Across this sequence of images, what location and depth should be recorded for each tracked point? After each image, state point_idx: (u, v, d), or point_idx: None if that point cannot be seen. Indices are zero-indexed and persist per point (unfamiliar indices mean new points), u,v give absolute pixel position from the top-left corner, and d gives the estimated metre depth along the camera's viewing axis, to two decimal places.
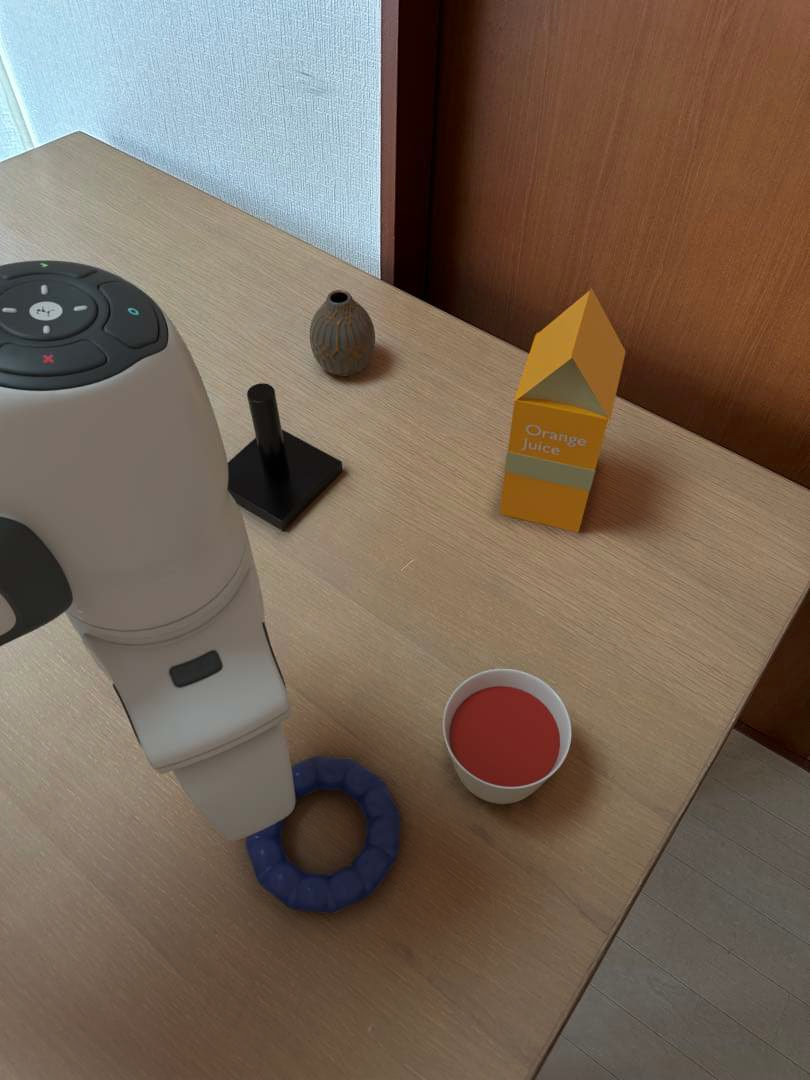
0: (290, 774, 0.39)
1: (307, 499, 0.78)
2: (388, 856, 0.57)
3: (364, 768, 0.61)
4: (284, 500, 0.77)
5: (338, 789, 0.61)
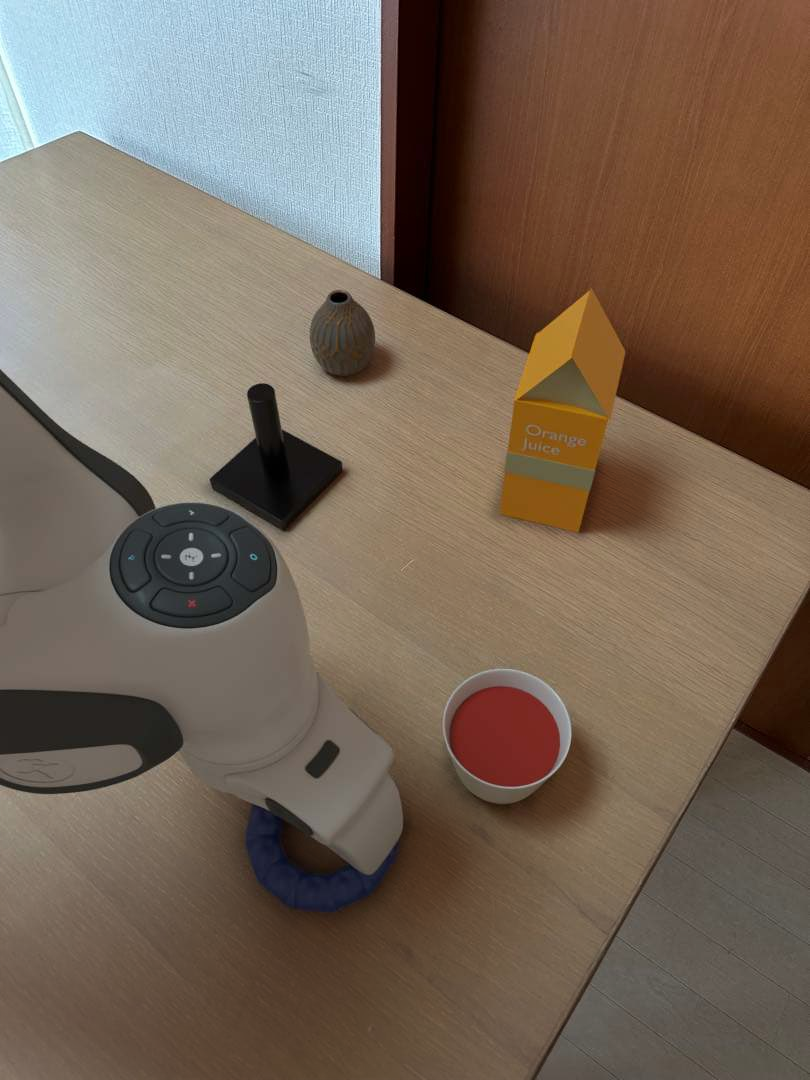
0: None
1: (307, 499, 0.78)
2: (387, 856, 0.57)
3: None
4: (284, 500, 0.77)
5: None
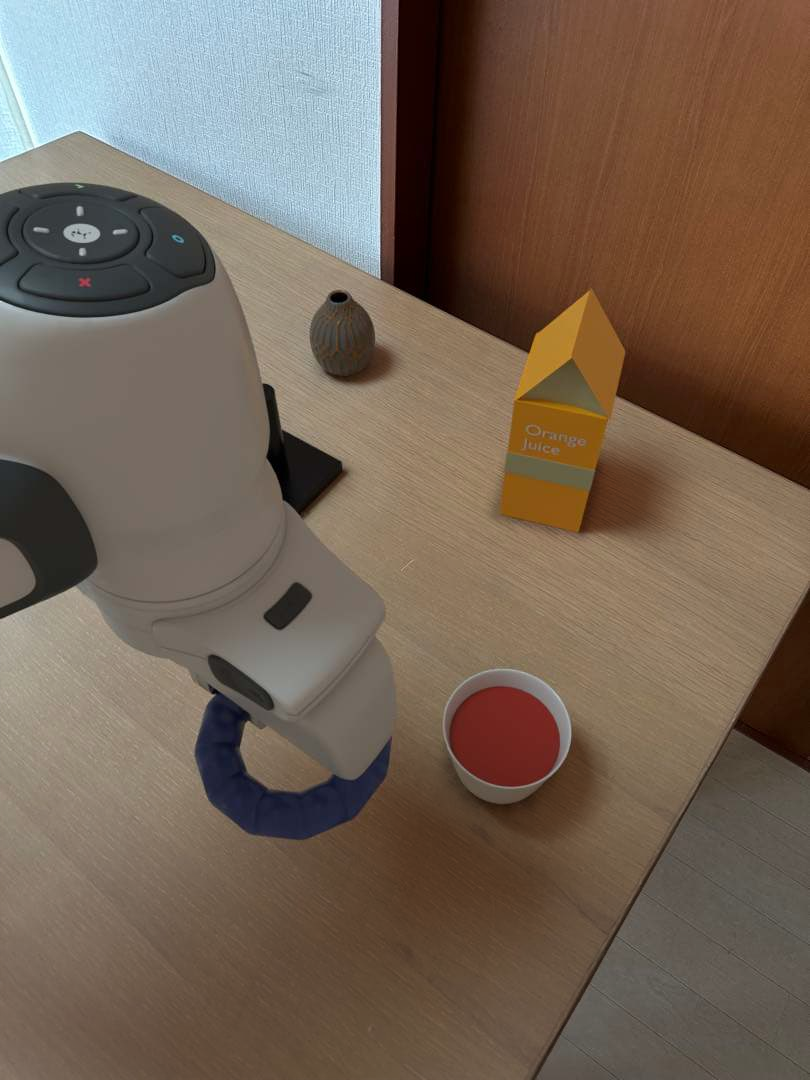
0: (394, 683, 0.38)
1: (307, 499, 0.78)
2: (376, 770, 0.45)
3: None
4: (284, 500, 0.77)
5: None
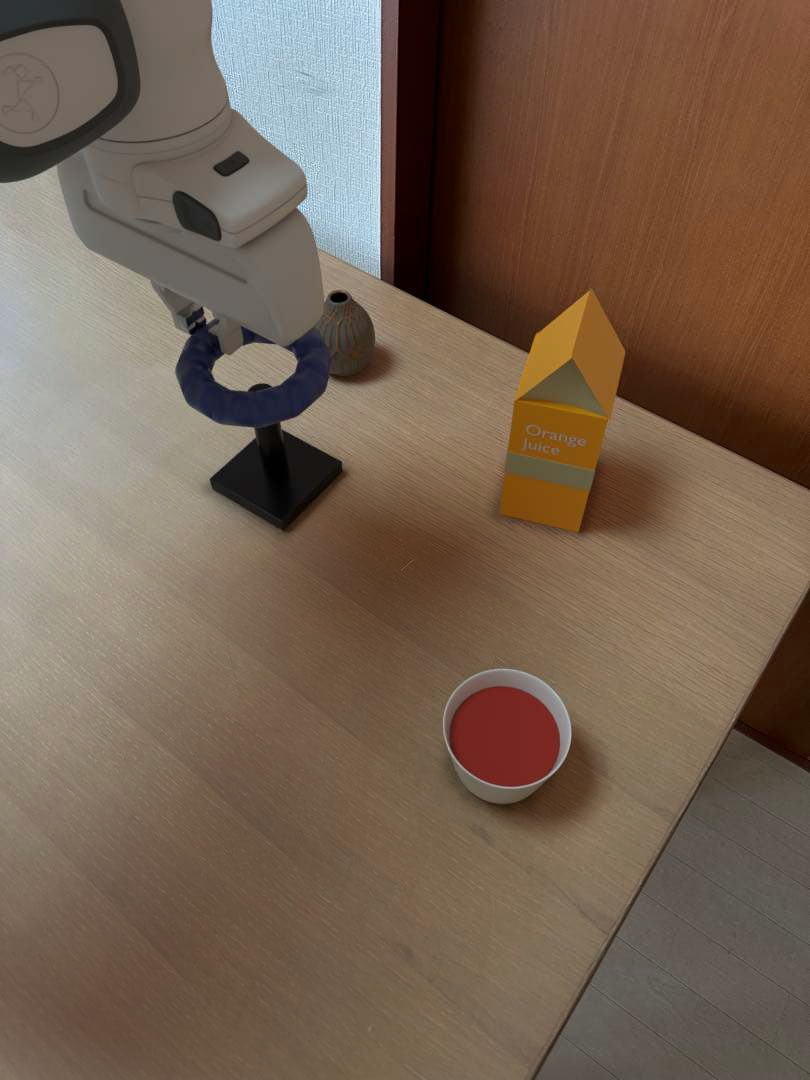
0: (318, 258, 0.50)
1: (307, 499, 0.78)
2: (316, 379, 0.57)
3: None
4: (284, 500, 0.77)
5: None
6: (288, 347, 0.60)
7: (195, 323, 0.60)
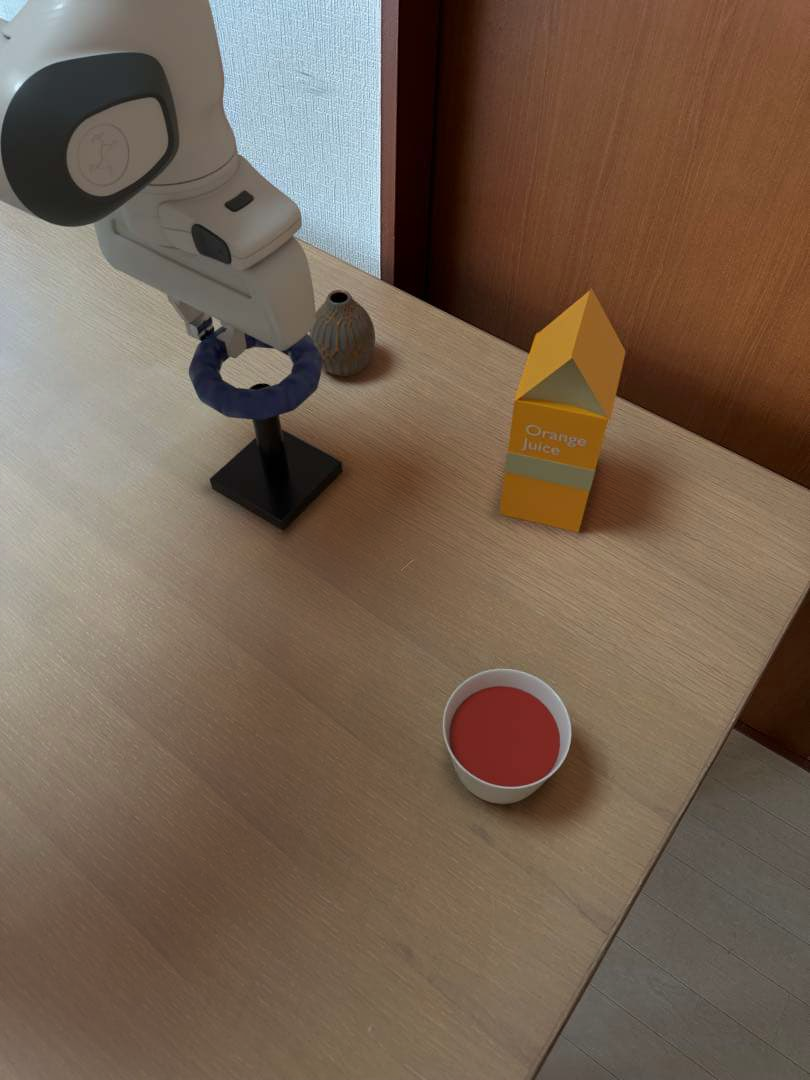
0: None
1: (307, 499, 0.78)
2: (309, 378, 0.67)
3: None
4: (284, 500, 0.77)
5: None
6: (285, 351, 0.71)
7: (205, 331, 0.70)
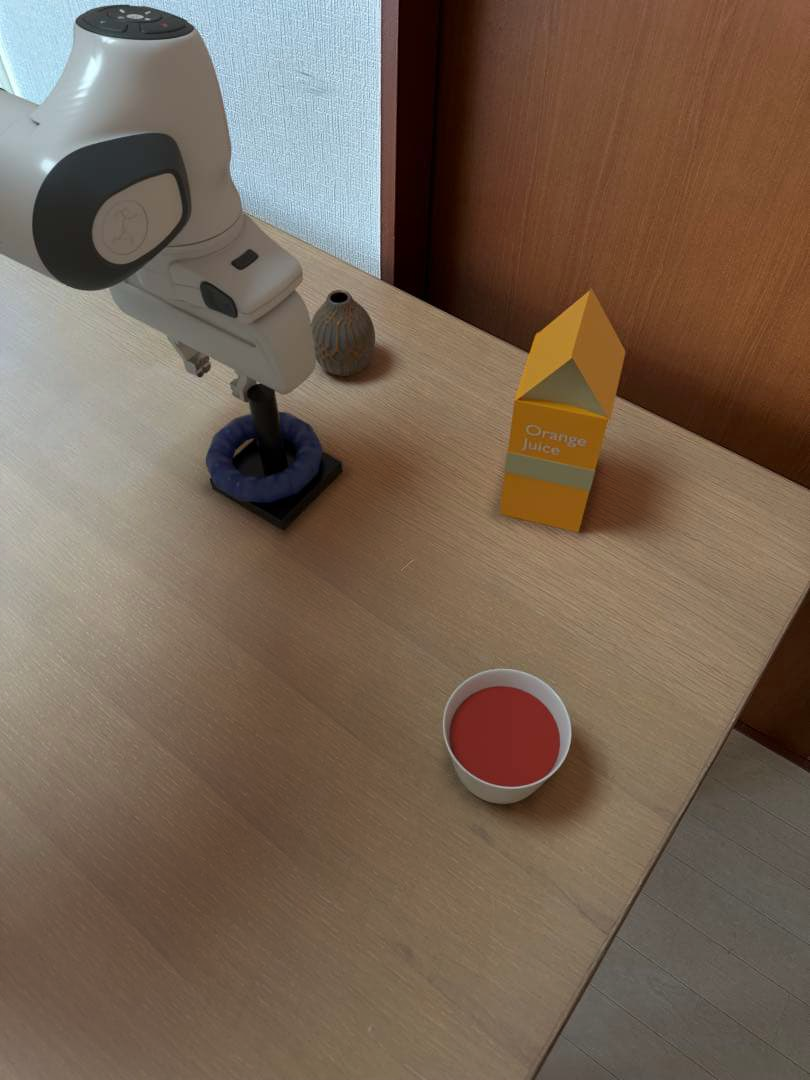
0: (311, 327, 0.64)
1: (307, 499, 0.78)
2: (310, 465, 0.77)
3: None
4: (284, 500, 0.77)
5: None
6: (289, 439, 0.80)
7: (202, 367, 0.74)
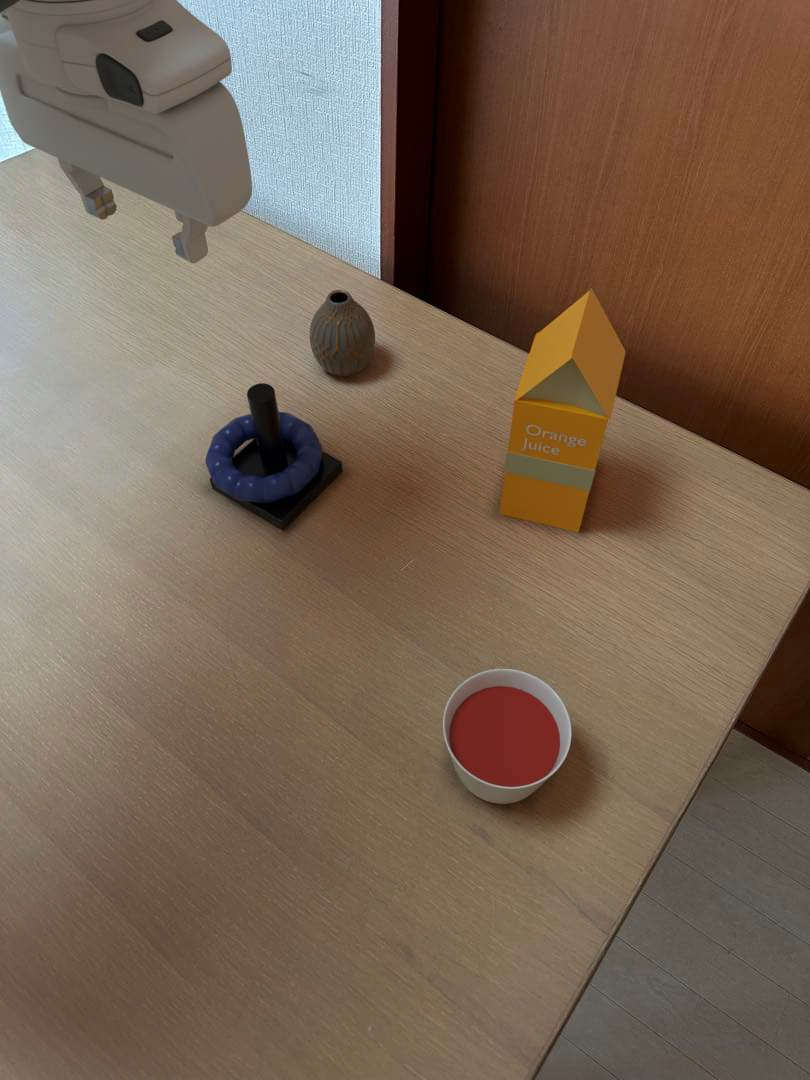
0: (244, 136, 0.51)
1: (307, 499, 0.78)
2: (310, 465, 0.77)
3: None
4: (284, 500, 0.77)
5: None
6: (289, 439, 0.80)
7: (104, 207, 0.62)
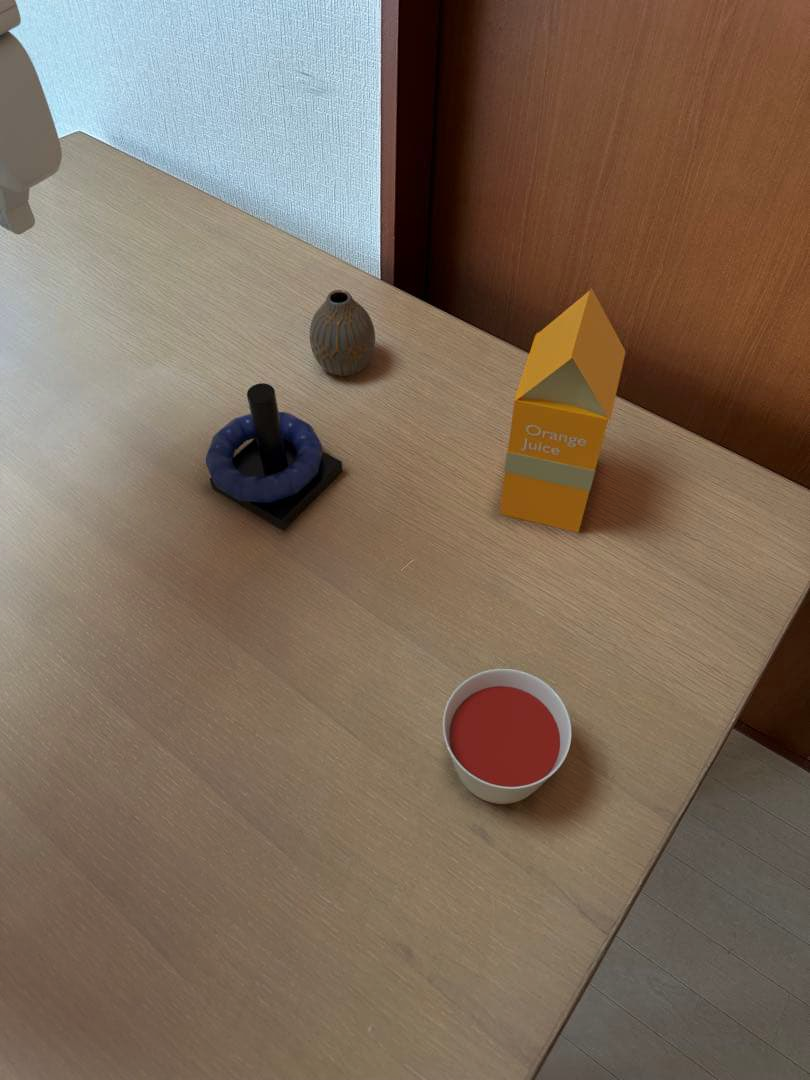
0: (43, 92, 0.48)
1: (307, 499, 0.78)
2: (310, 465, 0.77)
3: None
4: (284, 500, 0.77)
5: None
6: (289, 439, 0.80)
7: None
